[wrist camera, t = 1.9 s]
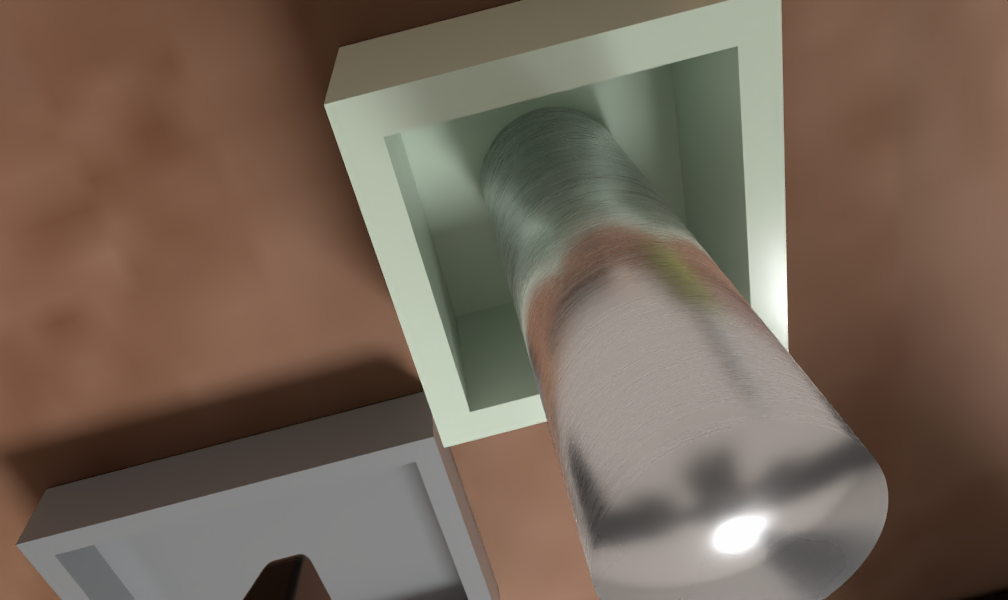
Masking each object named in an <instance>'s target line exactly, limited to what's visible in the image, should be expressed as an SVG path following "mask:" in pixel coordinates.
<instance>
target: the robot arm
mask: <svg viewBox="0 0 1008 600" xmlns="http://www.w3.org/2000/svg"><path fill="white" fill-rule="evenodd" d="M243 600H331V597H330V595H329V593H328V592H327V590H326V588H325V586H324V584H323V582H322V580H321V578H320V577H319V575H318V573H317V571H316V569H315V567H314V565H313V563H312V562H311V560H310V559H309V557H307V556H306V555H304V554H297V555H293V556H289V557H286V558H282V559H278V560H274V561H272V562H270V563H268V564H267V565H266V566H265V567H264V569H263V570H262V571H261V573H260V574H259V576H258V577H257V579H256V580H255V582H254V583H253V585H252V586H251V588H250V590H249V591H248V593H247V594H246V596H245V597H244V599H243ZM981 600H1008V593H1004V594H1000V595H997V596H993V597H989V598H985V599H981Z"/></svg>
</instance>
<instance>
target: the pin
mask: <svg viewBox="0 0 1008 600" xmlns="http://www.w3.org/2000/svg"><path fill="white" fill-rule="evenodd" d="M481 187H482V192H483V196H484V200H485V204H486V207H487V211H488V214H489V218H490V221H491V225H492V228H493V232H494V235H495V239H496V242H497V246H498V250H499V253H500V257H501V260H502V264H503V267H504V271H505V274H506V278H507V281H508V285H509V288H510V292H511V296H512V299H513V303H514V306H515V310H516V313H517V317H518V320H519V324H520V327H521V331H522V334H523V338H524V341H525V345H526V349H527V352H528V356H529V359H530V363H531V366H532V370H533V373H534V377H535V380H536V384H537V387H538V391H539V395H540V398H541V402H542V405H543V409H544V412H545V416H546V419H547V423H548V426H549V430H550V433H551V437H552V441H553V444H554V448H555V451H556V455H557V458H558V462H559V465H560V469H561V472H562V476H563V479H564V483H565V487H566V490H567V494H568V497H569V501H570V504H571V508H572V511H573V515H574V518H575V522H576V525H577V529H578V532H579V536H580V540H581V543H582V547H583V550H584V554H585V557H586V561H587V564H588V568H589V571H590V575H591V578H592V582H593V585H594V588H595V591H596V593H597V595H598V597H599V599H600V600H823V599H825V598H826V597H828V596H829V595H830V594H831V593H833V592H834V591H835V590H836V589H838V588H839V587H840V586H841V585H843V584H844V583H845V582H846V581H847V580H848V579H849V578H850V577H851V576H852V575H853V574H854V573H855V572H856V571H857V569H858V568H859V567H860V566H861V565H862V563H863V562H864V561H865V560H866V558H867V557H868V555H869V554H870V552H871V551H872V549H873V548H874V546H875V544H876V542H877V540H878V538H879V536H880V534H881V532H882V529H883V526H884V523H885V520H886V516H887V510H888V488H887V483H886V479H885V476H884V474H883V472H882V469H881V467H880V465H879V464H878V463H877V461H876V460H875V458H874V457H873V456H872V454H871V453H870V452H869V451H868V449H867V448H866V447H865V446H864V445H863V443H862V442H861V441H860V440H859V438H858V437H857V436H856V435H855V434H854V432H853V431H852V430H851V429H850V427H849V426H848V425H847V424H846V422H845V421H844V420H843V419H842V418H841V416H840V415H839V414H838V413H837V411H836V410H835V409H834V408H833V407H832V405H831V404H830V403H829V402H828V400H827V399H826V398H825V397H824V395H823V394H822V393H821V392H820V391H819V389H818V388H817V387H816V386H815V384H814V383H813V382H812V381H811V380H810V378H809V377H808V376H807V375H806V373H805V372H804V371H803V370H802V369H801V367H800V366H799V365H798V364H797V362H796V361H795V360H794V359H793V357H792V356H791V355H790V354H789V353H788V351H787V350H786V349H785V348H784V346H783V345H782V344H781V343H780V342H779V340H778V339H777V338H776V337H775V335H774V334H773V333H772V332H771V331H770V329H769V328H768V327H767V326H766V324H765V323H764V322H763V321H762V319H761V318H760V317H759V316H758V315H757V313H756V312H755V311H754V310H753V308H752V307H751V306H750V305H749V304H748V302H747V301H746V300H745V299H744V297H743V296H742V295H741V294H740V292H739V291H738V290H737V289H736V288H735V286H734V285H733V284H732V283H731V281H730V280H729V279H728V278H727V277H726V275H725V274H724V273H723V272H722V270H721V269H720V268H719V267H718V266H717V264H716V263H715V262H714V261H713V259H712V258H711V257H710V256H709V254H708V253H707V252H706V251H705V250H704V248H703V247H702V246H701V245H700V243H699V242H698V241H697V240H696V239H695V237H694V236H693V235H692V234H691V232H690V231H689V230H688V229H687V227H686V226H685V225H684V224H683V223H682V221H681V220H680V219H679V218H678V216H677V215H676V214H675V213H674V212H673V210H672V209H671V208H670V207H669V205H668V204H667V203H666V202H665V201H664V199H663V198H662V197H661V196H660V194H659V193H658V192H657V191H656V189H655V188H654V187H653V186H652V185H651V183H650V182H649V181H648V180H647V178H646V177H645V176H644V175H643V174H642V172H641V171H640V170H639V169H638V167H637V166H636V165H635V164H634V162H633V161H632V160H631V159H630V158H629V156H628V155H627V154H626V153H625V151H624V150H623V149H622V148H621V147H620V145H619V144H618V143H617V142H616V140H615V139H614V138H613V137H612V136H611V134H610V133H609V132H608V131H607V129H606V128H605V127H604V126H603V125H602V124H601V123H600V122H599V121H597V120H596V119H595V118H593V117H592V116H590V115H588V114H586V113H584V112H582V111H579V110H576V109H572V108H568V107H545V108H540V109H536V110H533V111H530V112H527V113H525V114H523V115H521V116H519V117H518V118H516V119H514V120H513V121H511V122H510V123H509V124H508V125H506V126H505V127H504V128H503V129H502V130H501V131H500V132H499V133H498V135H497V136H496V137H495V139H494V140H493V141H492V143H491V145H490V147H489V149H488V150H487V153H486V155H485V158H484V162H483V166H482V172H481Z"/></svg>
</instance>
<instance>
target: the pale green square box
mask: <svg viewBox="0 0 1008 600" xmlns="http://www.w3.org/2000/svg"><path fill="white" fill-rule="evenodd" d="M324 107H325V109H326V112H327V115H328V118H329V121H330V124H331V127H332V129H333V132H334V135H335V138H336V141H337V144H338V147H339V149H340V152H341V155H342V158H343V161H344V164H345V167H346V169H347V172H348V175H349V178H350V181H351V184H352V187H353V189H354V192H355V195H356V198H357V201H358V204H359V207H360V209H361V212H362V215H363V218H364V221H365V224H366V227H367V229H368V232H369V235H370V238H371V241H372V244H373V247H374V249H375V252H376V255H377V258H378V261H379V264H380V267H381V269H382V272H383V275H384V278H385V281H386V284H387V287H388V289H389V292H390V295H391V298H392V301H393V304H394V307H395V309H396V312H397V315H398V318H399V321H400V324H401V327H402V329H403V332H404V335H405V338H406V341H407V344H408V346H409V349H410V352H411V355H412V358H413V361H414V364H415V366H416V369H417V372H418V375H419V378H420V381H421V384H422V386H423V389H424V392H425V395H426V398H427V401H428V404H429V406H430V409H431V412H432V415H433V418H434V421H435V424H436V426H437V429H438V432H439V435H440V438H441V441H442V444H443V446H444V448H445V447H449V446H453V445H457V444H461V443H465V442H469V441H473V440H476V439H480V438H484V437H488V436H492V435H496V434H500V433H503V432H507V431H511V430H515V429H519V428H523V427H527V426H530V425H534V424H538V423H542V422H546V421H547V419H546V416H545V412H544V409H543V405H542V402H541V398H540V395H539V391H538V387H537V384H536V380H535V377H534V373H533V370H532V366H531V363H530V359H529V356H528V352H527V349H526V345H525V341H524V338H523V334H522V331H521V327H520V324H519V320H518V317H517V313H516V310H515V306H514V303H513V299H512V296H511V292H510V288H509V285H508V281H507V278H506V274H505V271H504V267H503V264H502V260H501V257H500V253H499V250H498V246H497V242H496V239H495V235H494V232H493V228H492V225H491V221H490V218H489V214H488V211H487V207H486V204H485V200H484V196H483V192H482V187H481V172H482V166H483V162H484V158H485V155H486V153H487V150H488V149H489V147H490V145H491V143H492V141H493V140H494V139H495V137H496V136H497V135H498V133H499V132H500V131H501V130H502V129H503V128H504V127H505V126H506V125H508V124H509V123H510V122H511V121H513V120H514V119H516V118H518V117H519V116H521V115H523V114H525V113H527V112H530V111H533V110H536V109H540V108H545V107H568V108H572V109H576V110H579V111H582V112H584V113H586V114H588V115H590V116H592V117H593V118H595V119H596V120H597V121H599V122H600V123H601V124H602V125H603V126H604V127H605V128H606V129H607V131H608V132H609V133H610V134H611V136H612V137H613V138H614V139H615V140H616V142H617V143H618V144H619V145H620V147H621V148H622V149H623V150H624V151H625V153H626V154H627V155H628V156H629V158H630V159H631V160H632V161H633V162H634V164H635V165H636V166H637V167H638V169H639V170H640V171H641V172H642V174H643V175H644V176H645V177H646V178H647V180H648V181H649V182H650V183H651V185H652V186H653V187H654V188H655V189H656V191H657V192H658V193H659V194H660V196H661V197H662V198H663V199H664V201H665V202H666V203H667V204H668V205H669V207H670V208H671V209H672V210H673V212H674V213H675V214H676V215H677V216H678V218H679V219H680V220H681V221H682V223H683V224H684V225H685V226H686V227H687V229H688V230H689V231H690V232H691V234H692V235H693V236H694V237H695V239H696V240H697V241H698V242H699V243H700V245H701V246H702V247H703V248H704V250H705V251H706V252H707V253H708V254H709V256H710V257H711V258H712V259H713V261H714V262H715V263H716V264H717V266H718V267H719V268H720V269H721V270H722V272H723V273H724V274H725V275H726V277H727V278H728V279H729V280H730V281H731V283H732V284H733V285H734V286H735V288H736V289H737V290H738V291H739V292H740V294H741V295H742V296H743V297H744V299H745V300H746V301H747V302H748V304H749V305H750V306H751V307H752V308H753V310H754V311H755V312H756V313H757V315H758V316H759V317H760V318H761V319H762V321H763V322H764V323H765V324H766V326H767V327H768V328H769V329H770V331H771V332H772V333H773V334H774V335H775V337H776V338H777V339H778V340H779V342H780V343H781V344H782V345H783V346H784V348H785V349H786V350H787V351H788V314H787V264H786V214H785V164H784V114H783V64H782V14H781V0H522V1H518V2H514V3H510V4H506V5H502V6H498V7H495V8H491V9H487V10H483V11H479V12H475V13H471V14H467V15H463V16H460V17H456V18H452V19H448V20H444V21H440V22H436V23H432V24H428V25H425V26H421V27H417V28H413V29H409V30H405V31H401V32H397V33H394V34H390V35H386V36H382V37H378V38H374V39H370V40H366V41H362V42H359V43H355V44H351V45H347V46H343V47H339V50H338V54H337V57H336V61H335V65H334V69H333V72H332V76H331V80H330V83H329V87H328V91H327V95H326V98H325V102H324Z"/></svg>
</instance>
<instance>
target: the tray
mask: <svg viewBox="0 0 1008 600" xmlns="http://www.w3.org/2000/svg"><path fill="white" fill-rule="evenodd" d="M16 546H17V547H18V548H19V549H20V551H21V552H22V553H23V554H24V555H25V556H26V558H27V559H28V560H29V561H30V562H31V564H32V565H33V566H34V567H35V568H36V570H37V571H38V572H39V573H40V574H41V576H42V577H43V578H44V579H45V580H46V582H47V583H48V584H49V585H50V586H51V588H52V589H53V590H54V591H55V592H56V594H57V595H58V596H59V597H60V598H61V600H243V599H244V597H245V596H246V594H247V593H248V591H249V590H250V588H251V586H252V585H253V583H254V582H255V580H256V579H257V577H258V576H259V574H260V573H261V571H262V570H263V569H264V567H265V566H266V565H267V564H268V563H270V562H272V561H274V560H278V559H282V558H286V557H289V556H293V555H297V554H304V555H306V556H307V557H309V559H310V560H311V562H312V563H313V565H314V567H315V569H316V571H317V573H318V575H319V577H320V578H321V580H322V582H323V584H324V586H325V588H326V590H327V592H328V593H329V595H330V597H331V600H500V595H499V589H498V586H497V583H496V580H495V577H494V574H493V571H492V569H491V566H490V563H489V560H488V557H487V554H486V551H485V548H484V545H483V542H482V540H481V537H480V534H479V531H478V528H477V525H476V522H475V519H474V516H473V513H472V511H471V508H470V505H469V502H468V499H467V496H466V493H465V490H464V487H463V484H462V481H461V479H460V476H459V473H458V470H457V467H456V464H455V461H454V458H453V455H452V452H451V450H450V447H445V448H444V446H443V444H442V441H441V438H440V435H439V432H438V429H437V426H436V424H435V421H434V418H433V415H432V412H431V409H430V406H429V404H428V401H427V398H426V395H425V392H420V393H416V394H412V395H408V396H405V397H401V398H397V399H393V400H389V401H385V402H381V403H378V404H374V405H370V406H366V407H362V408H358V409H354V410H351V411H347V412H343V413H339V414H335V415H331V416H327V417H323V418H320V419H316V420H312V421H308V422H304V423H300V424H296V425H293V426H289V427H285V428H281V429H277V430H273V431H269V432H265V433H262V434H258V435H254V436H250V437H246V438H242V439H238V440H235V441H231V442H227V443H223V444H219V445H215V446H211V447H207V448H204V449H200V450H196V451H192V452H188V453H184V454H180V455H177V456H173V457H169V458H165V459H161V460H157V461H153V462H149V463H146V464H142V465H138V466H134V467H130V468H126V469H122V470H119V471H115V472H111V473H107V474H103V475H99V476H95V477H91V478H88V479H84V480H80V481H76V482H72V483H68V484H64V485H61V486H57V487H53V488H49V489H46V491H45V492H44V494H43V496H42V498H41V500H40V502H39V503H38V505H37V507H36V509H35V511H34V513H33V514H32V516H31V518H30V520H29V522H28V524H27V525H26V527H25V529H24V531H23V533H22V534H21V536H20V538H19V540H18V542H17V544H16Z"/></svg>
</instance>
